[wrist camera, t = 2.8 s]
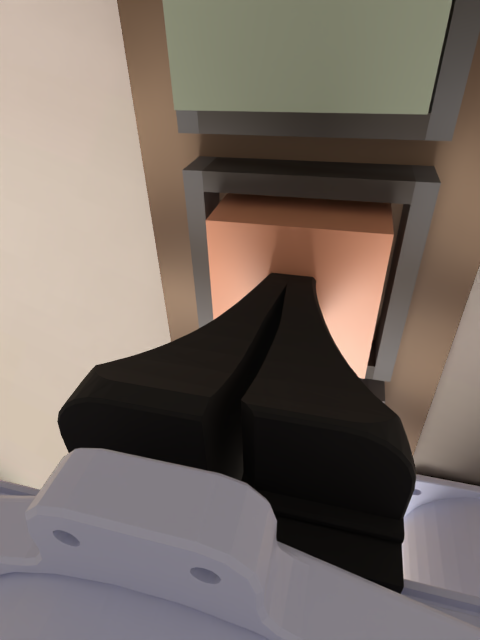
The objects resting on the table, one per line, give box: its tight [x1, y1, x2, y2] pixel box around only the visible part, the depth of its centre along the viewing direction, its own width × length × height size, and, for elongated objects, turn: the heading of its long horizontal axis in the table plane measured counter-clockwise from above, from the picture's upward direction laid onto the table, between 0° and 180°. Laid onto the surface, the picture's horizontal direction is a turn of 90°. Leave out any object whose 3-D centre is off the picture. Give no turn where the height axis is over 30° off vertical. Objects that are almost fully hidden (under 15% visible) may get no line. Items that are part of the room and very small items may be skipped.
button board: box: [117, 0, 480, 456], centre depth 15 cm, size 24×11×3 cm, turn 2°
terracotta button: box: [206, 193, 394, 379], centre depth 14 cm, size 5×5×2 cm
